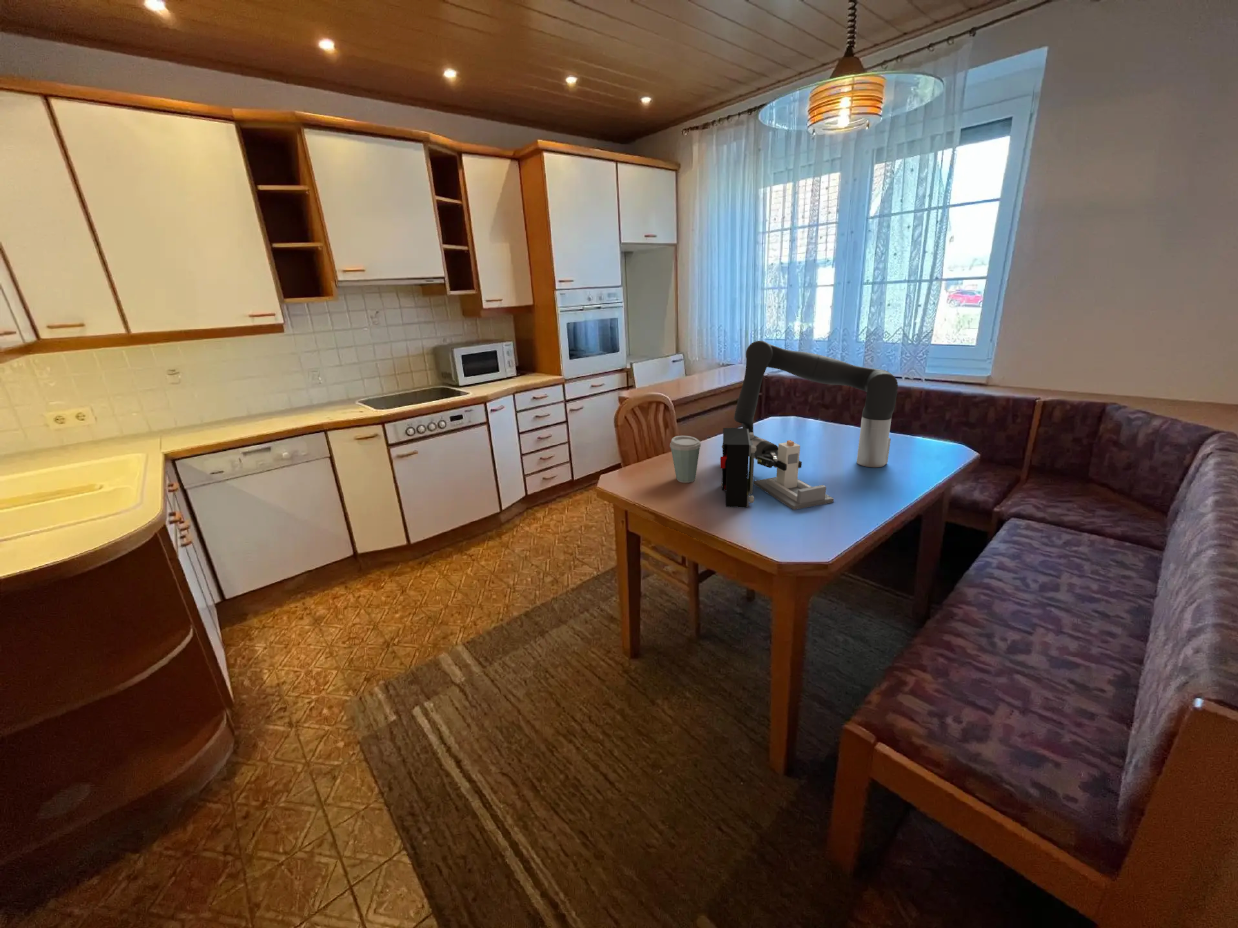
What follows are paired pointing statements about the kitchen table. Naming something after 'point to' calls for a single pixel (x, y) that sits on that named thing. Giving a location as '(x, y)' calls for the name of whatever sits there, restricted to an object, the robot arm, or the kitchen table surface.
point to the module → (788, 464)
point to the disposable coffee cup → (685, 457)
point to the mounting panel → (795, 493)
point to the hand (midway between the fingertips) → (793, 466)
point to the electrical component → (737, 466)
